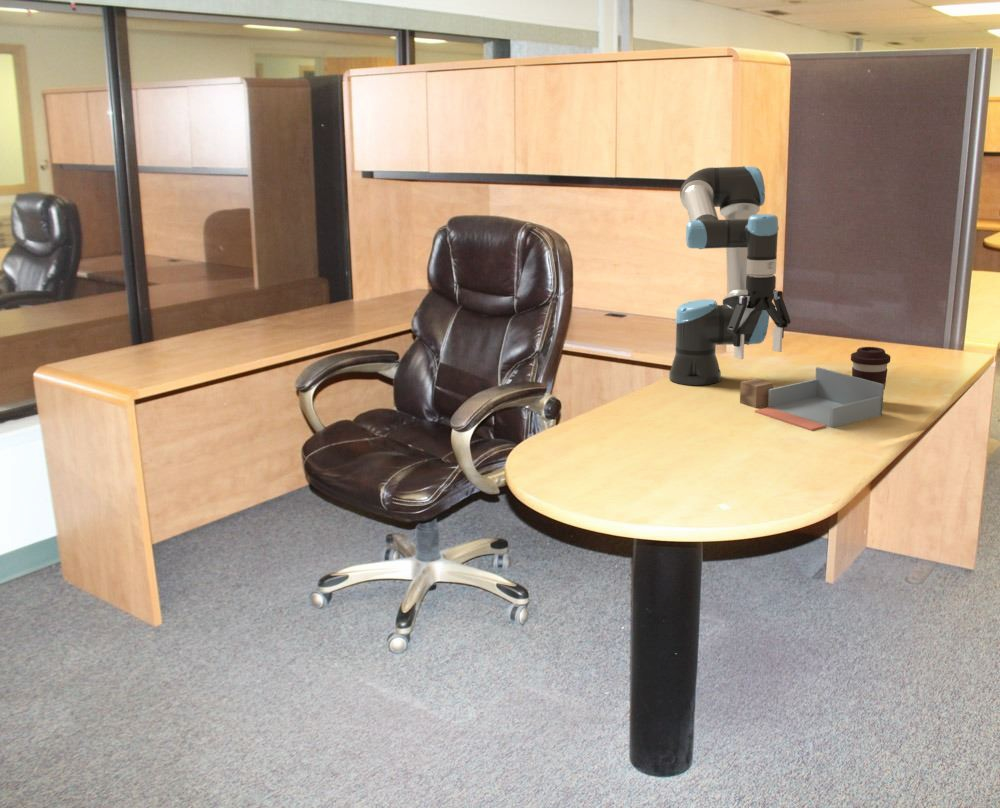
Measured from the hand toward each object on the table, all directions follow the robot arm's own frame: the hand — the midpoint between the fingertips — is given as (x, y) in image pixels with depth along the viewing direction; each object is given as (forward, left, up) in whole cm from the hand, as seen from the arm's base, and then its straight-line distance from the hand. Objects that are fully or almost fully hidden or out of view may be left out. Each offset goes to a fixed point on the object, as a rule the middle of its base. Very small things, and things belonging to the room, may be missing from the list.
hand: (758, 354), depth 270 cm
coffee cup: (+15, +26, -15) cm, 33 cm away
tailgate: (+15, -1, -14) cm, 20 cm away
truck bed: (+15, +9, -15) cm, 23 cm away
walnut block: (0, 0, -15) cm, 15 cm away
